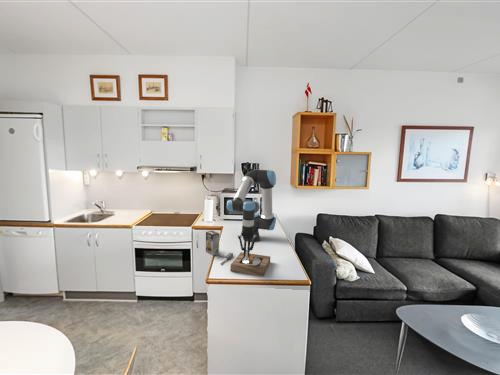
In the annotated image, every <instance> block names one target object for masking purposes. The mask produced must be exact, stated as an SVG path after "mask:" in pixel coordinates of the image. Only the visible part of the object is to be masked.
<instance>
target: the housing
mask: <svg viewBox="0 0 500 375" xmlns="http://www.w3.org/2000/svg"><path fill="white" fill-rule="evenodd" d="M249 254H251V253H250V252H249ZM252 254H253V257H257V258H259V259H260V260H261V264H260V266H253V265H247V264H242V259H243V258H245V256H244V251H243V252H241V251H240V252H239V254H238V255H237V256H236V258H235V259H234V260H233V261H232V262H231V263H230V272H234V273H240V274H247V275H252V276H258V277H264V276H265V275H266V272H267V269H268V268H269V267H270V266H269V265H270V264H271V256H269V255H264V254H263V255H262V254H255V253H252ZM248 257H249V256H248Z"/></svg>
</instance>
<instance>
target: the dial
mask: <svg viewBox="0 0 500 375" xmlns="http://www.w3.org/2000/svg"><path fill="white" fill-rule="evenodd" d="M253 254H254V253H250V254H249V257H247V261H245V258H243V259H242V264H247V265H253V266H260V264H261V260H260V259H259V258H257V257H253Z"/></svg>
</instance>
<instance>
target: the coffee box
mask: <svg viewBox="0 0 500 375" xmlns="http://www.w3.org/2000/svg"><path fill="white" fill-rule="evenodd" d="M205 253H206V254H209V255H210V256H216V255H219V254H220V233H219V232H216V231H215V230H209V231H206V232H205Z"/></svg>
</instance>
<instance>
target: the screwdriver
mask: <svg viewBox="0 0 500 375" xmlns="http://www.w3.org/2000/svg"><path fill="white" fill-rule="evenodd" d="M233 257H234V253H233V252H229V253H228V254H226V255H225V256H224V259H223V260H222V261H220V262H219V264H220V265H223V263H224V262H225V261H229V260H230V259H232V258H233Z"/></svg>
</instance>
